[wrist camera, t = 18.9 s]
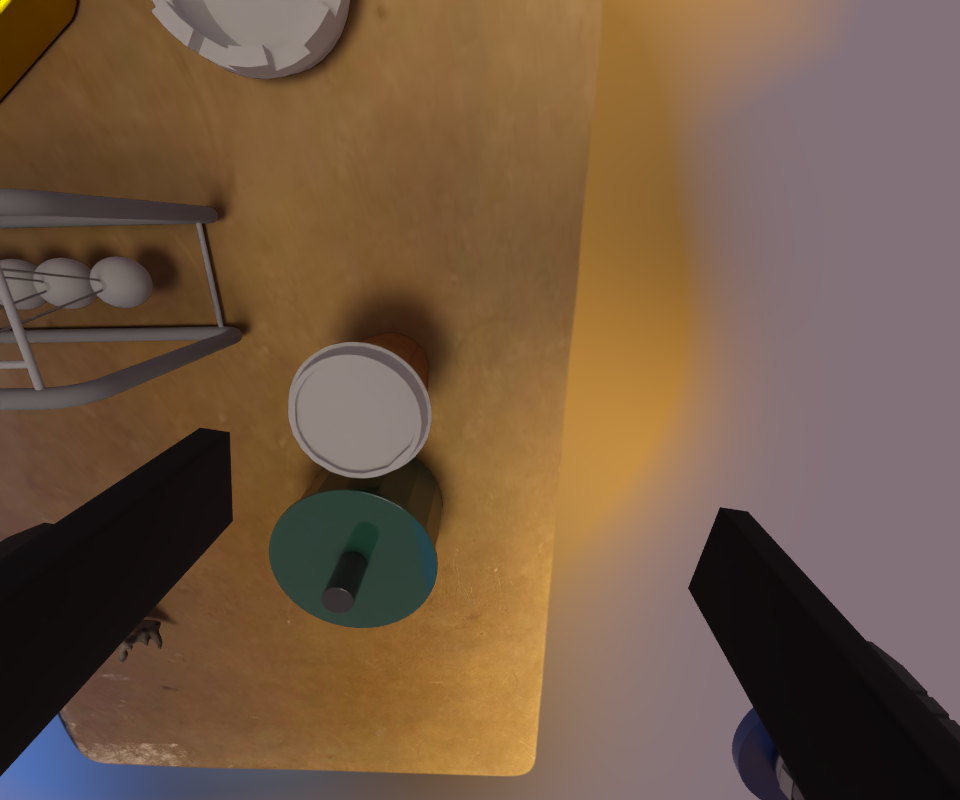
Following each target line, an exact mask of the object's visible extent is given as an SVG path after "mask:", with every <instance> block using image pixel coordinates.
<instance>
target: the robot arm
mask: <svg viewBox="0 0 960 800" xmlns="http://www.w3.org/2000/svg"><path fill="white" fill-rule="evenodd" d="M232 521H233V515H232V485H231V456H230V432H224V431H218V430H211V429H205V428H199V429H198V430H196V431H195V432H193V433H192V434H190V435H189V436H187V437H185V438H184V439H182V440H181V441H179V442H178V443H176V444H175V445H173V446H172V447H170V448H169V449H167V450H166V451H164V452H163V453H161V454H160V455H158V456H157V457H155V458H154V459H152V460H151V461H149V462H148V463H146V464H145V465H143V466H142V467H140V468H139V469H137V470H135V471H134V472H132V473H131V474H129V475H128V476H126V477H125V478H123V479H122V480H120V481H119V482H117V483H116V484H114V485H113V486H111V487H110V488H108V489H107V490H105V491H104V492H102V493H101V494H99V495H98V496H96V497H95V498H93V499H92V500H90V501H89V502H87V503H85V504H84V505H82V506H81V507H79V508H78V509H76V510H75V511H73V512H72V513H70V514H69V515H67V516H66V517H64V518H63V519H61V520H60V521H58V522H57V523H55V524H50V523H42V524H40V525H37V526H35V527H32V528H30V529H27V530H25V531H23V532H20V533H18V534H15V535H13V536H10V537H8V538H6V539H4V540H3V541H1V542H0V776H1V775H2V774H3V773H4V772H5V771H6V770H7V769H8V768H9V766H10V765H11V764H12V763H13V762H14V761H15V760H16V759H17V758H18V756H19V755H20V754H21V753H22V752H23V751H24V750H25V749H26V748H27V747H28V746H29V744H30V743H31V742H32V741H33V740H34V739H35V738H36V737H37V736H38V735H39V733H40V732H41V731H42V730H43V729H44V728H45V727H46V726H47V725H48V723H49V722H50V721H51V720H52V719H53V718H54V717H55V716H56V715H57V714H58V713H59V711H60V710H61V709H62V708H63V707H64V706H65V705H66V704H67V703H68V702H69V700H70V699H71V698H72V697H73V696H74V695H75V694H76V693H77V692H78V691H79V689H80V688H81V687H82V686H83V685H84V684H85V683H86V682H87V681H88V680H89V678H90V677H91V676H92V675H93V674H94V673H95V672H96V671H97V670H98V669H99V667H100V666H101V665H102V664H103V663H104V662H105V661H106V660H107V659H108V658H109V656H110V655H111V654H112V653H113V652H114V651H115V650H116V649H117V648H118V647H119V645H120V644H121V643H122V642H123V641H124V640H125V639H126V638H127V637H128V636H129V634H130V633H131V632H132V631H133V630H134V629H135V628H136V627H137V626H138V625H139V623H140V622H141V621H142V620H143V619H144V618H145V617H146V616H147V615H148V614H149V612H150V611H151V610H152V609H153V608H154V607H155V606H156V605H157V604H158V603H159V601H160V600H161V599H162V598H163V597H164V596H165V595H166V594H167V593H168V592H169V590H170V589H171V588H172V587H173V586H174V585H175V584H176V583H177V582H178V581H179V579H180V578H181V577H182V576H183V575H184V574H185V573H186V572H187V571H188V570H189V568H190V567H191V566H192V565H193V564H194V563H195V562H196V561H197V560H198V559H199V557H200V556H201V555H202V554H203V553H204V552H205V551H206V550H207V549H208V548H209V546H210V545H211V544H212V543H213V542H214V541H215V540H216V539H217V538H218V537H219V535H220V534H221V533H222V532H223V531H224V530H225V529H226V528H227V527H228V526H229V524H230V523H231V522H232ZM688 589H689V590H690V592H691V594H692V596H693V598H694V600H695V602H696V603H697V605H698V607H699V609H700V611H701V612H702V614H703V616H704V618H705V620H706V621H707V623H708V625H709V627H710V629H711V631H712V632H713V634H714V636H715V638H716V640H717V642H718V643H719V645H720V647H721V649H722V651H723V652H724V654H725V656H726V657H727V660H728V662H729V663H730V665H731V667H732V669H733V671H734V672H735V674H736V676H737V678H738V679H739V681H740V683H741V685H742V687H743V689H744V691H745V692H746V694H747V696H748V698H749V700H750V702H751V703H752V705H753V707H754V709H755V711H756V712H757V714H758V716H759V718H760V720H761V722H762V723H763V725H764V727H765V729H766V731H767V732H768V734H769V736H770V738H771V740H772V742H773V743H774V745H775V748H774V750H773V753H772V758H771V765H772V770H773V772H774V774H775V776H776V778H777V780H778V782H779V784H780V789H781V790H782V791H783V792H784V794H785V795H786V796H787V797H788V798H789V800H960V726H959V725H958V724H957V723H956V722H955V721H954V720H950V718H949V714H948V713H947V712H946V711H945V710H944V709H943V708H942V707H941V706H940V705H939V704H938V703H937V701H936V700H934V698H933V697H929V696H928V695H927V691H926V690H925V689H924V688H923V687H922V686H921V685H920V684H919V682H918V681H917V680H916V679H915V678H914V677H913V676H912V675H911V674H910V673H909V672H908V671H907V670H906V669H905V668H904V667H903V666H902V665H901V664H900V663H898V662H897V661H896V660H894V659H893V658H892V657H890V656H889V655H888V654H887V653H885V652H884V651H883V650H882V649H880V648H879V647H878V646H876V645H875V644H874V643H872V642H869V641H866V640H865V639H864V638H863V637H862V636H861V635H860V633H859V632H858V631H857V630H856V629H855V628H854V627H853V626H852V625H851V624H850V623H849V621H848V620H847V619H846V618H845V617H844V616H843V615H842V614H841V613H840V612H839V611H838V609H837V608H836V607H835V606H834V605H833V604H832V603H831V602H830V601H829V600H828V599H827V597H826V596H825V595H824V594H823V593H822V592H821V591H820V590H819V589H818V588H817V587H816V586H815V585H814V583H813V582H812V581H811V580H810V579H809V578H808V577H807V576H806V575H805V574H804V572H803V571H802V570H801V569H800V568H799V567H798V566H797V565H796V564H795V563H794V561H793V560H792V559H791V558H790V557H789V556H788V555H787V554H786V553H785V552H784V551H783V550H782V548H780V546H779V545H778V544H777V543H776V542H775V541H774V540H773V539H772V537H771V536H769V534H768V533H767V532H766V531H765V530H764V529H763V528H762V527H761V525H760V524H759V523H758V522H757V521H756V520H755V519H754V518H753V517H752V516H751V515H750V514H749V512H746V511H740V510H734V509H727V508H721V507H720V509H719V511H718V514H717V516H716V519H715V522H714V524H713V527H712V529H711V532H710V534H709V537H708V539H707V542H706V544H705V547H704V549H703V552H702V554H701V557H700V560H699V562H698V565H697V567H696V570H695V572H694V575H693V577H692V580H691V582H690V585H689V587H688Z"/></svg>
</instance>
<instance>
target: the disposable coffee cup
mask: <svg viewBox="0 0 960 800" xmlns="http://www.w3.org/2000/svg"><path fill="white" fill-rule="evenodd" d="M427 387H428V363H427V358H426V356H425V354H424V352H423V350H422V349H421V347H420V346H419V345H418V344H417V343H416V342H415V341H413V340H412V339H410V338H409V337H407V336H404V335H402V334H398V333H383V334H379V335H377V336H374V337H371V338H368V339H365V340H362V341H359V342H346V343H339V344H334V345H331V346H328V347H326V348H323V349H321V350H320V351H318V352H316V353H315V354H313V355H312V356H311V357H309V358H308V359H307V360H306V361H305V362H304V363H303V364H302V366H301V367H300V368H299V370H298V371H297V373H296V375H295V376H294V379H293V382H292V385H291V388H290V393H289V404H288V416H289V422H290V426H291V429H292V432H293V435H294V437H295V438H296V440H297V442H298V443H299V445H300V447H301V448H302V450H303V451H304V452H305V453H306V454H307V455H308V456H309V457H310V458H311V459H312V460H313V461H314V462H316V463H317V464H319V465H321V466H322V467H324V468H326V469H327V470H329V471H330V472H333V473H337V474H340V475H343V476H346V477H352V478H371V477H377V476H380V475H383V474H387V473H389V472H391V471H393V470H396V469H398V468H400V467H402V466H403V465H405V464H407V463H408V462H409V461H410V460H411V459H413V458H414V457H415V456H416V455H417V453H418V452H419V451H420V450H421V448H422V447H423V445H424V443H425V442H426V439H427V437H428V434H429V430H430V426H431V419H432V418H431V404H430V400H429V396H428V392H427Z"/></svg>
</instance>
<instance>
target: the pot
mask: <svg viewBox="0 0 960 800" xmlns="http://www.w3.org/2000/svg"><path fill="white" fill-rule="evenodd" d="M336 487H354V488H362V489H367V490H372V491H375V492H378V493H381V494H384V495H386V496H388V497H390V498H392V499H394V500H396V501H398V502H399V503H401V504H403V505H404V506H405V507H407V508H408V509H409V510H411V511H412V512H413V513H414V514H415V515H416V516H417V517H418V518H419V519H420V520H421V522H422V523H423V524H424V525H425V527H426V528H427V530H428V532H429V533H430V535H431V537H432V539H433V542H434V544H435V548H436V543H437V537H438V532H439V526H440V520H441V514H442V508H443V502H442V496H441V491H440V488H439V486H438V483H437V481H436V480H435V478H434V476H433V475H432V473H431V472H430V471H429V469H428V468H427V467H426V466H425V465H424V464H423V463H422V462H420V461H419V460H418V459H417V458H415V457H414V458H413V459H411V460H410V461H409V462H408V463H407V464H405V465H403V466H402V467H400V468H398V469H396V470H393V471H391V472H389V473H387V474H383V475H380V476H377V477H371V478H352V477H346V476H343V475H340V474H337V473H333V472H330V471H329V470H327V469H326V468H324V467H323V468H322V470H321V471H320V473H319V474H318V475H317V477H316V478H315V479H314V481H313V482H312V484H311V485H310V486H309V488H308V489H307V491H306V492H305V493H304V495H303V496H302V497H301V498H303V497H305V496H306V495H309V494H311V493H314V492H316V491H320V490H324V489H328V488H336Z"/></svg>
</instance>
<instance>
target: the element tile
mask: <svg viewBox="0 0 960 800" xmlns="http://www.w3.org/2000/svg"><path fill="white" fill-rule="evenodd" d="M76 4H77V3H76V0H0V100H1V99H2V98H3V97H4V96H5V95H6V93H7V92H8V91H9V90H10V89H11V88H12V87H13V86H14V84H15V83H16V82H17V81H18V80H19V79H20V78H21V76H22V75H23V74H24V73H25V72H26V71H27V70H28V69H29V67H30V66H31V65H32V64H33V63H34V62H35V61H36V59H37V58H38V57H39V56H40V55H41V54H42V53H43V52H44V50H45V49H46V48H47V47H48V46H49V45H50V44H51V42H52V41H53V40H54V39H55V38H56V37H57V36H58V34H59V33H60V32H61V31H62V30H63V29H64V28H65V27H66V25H67V24H68V23H69V22H70V21H71V20H72V17H73V15H74V12H75V8H76Z"/></svg>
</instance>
